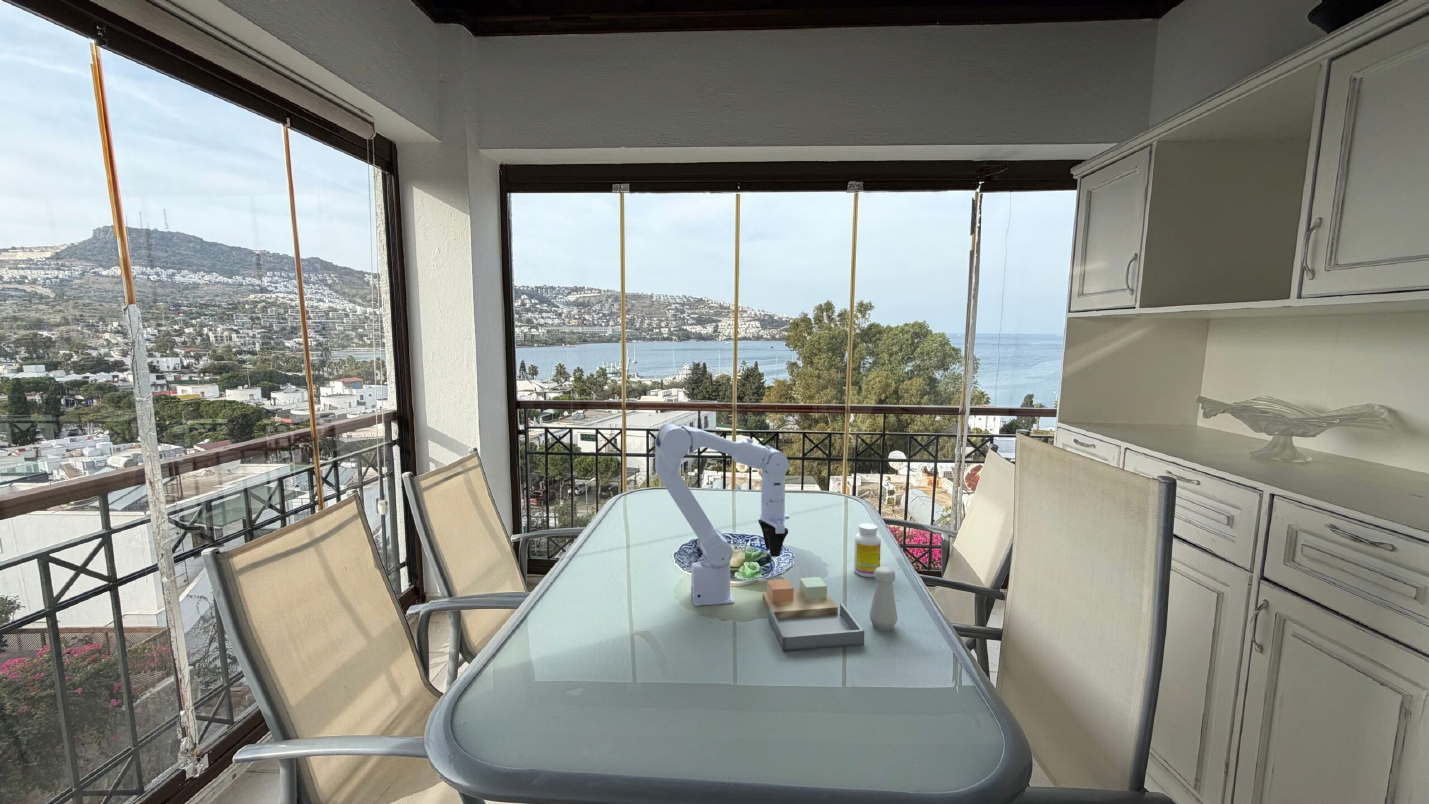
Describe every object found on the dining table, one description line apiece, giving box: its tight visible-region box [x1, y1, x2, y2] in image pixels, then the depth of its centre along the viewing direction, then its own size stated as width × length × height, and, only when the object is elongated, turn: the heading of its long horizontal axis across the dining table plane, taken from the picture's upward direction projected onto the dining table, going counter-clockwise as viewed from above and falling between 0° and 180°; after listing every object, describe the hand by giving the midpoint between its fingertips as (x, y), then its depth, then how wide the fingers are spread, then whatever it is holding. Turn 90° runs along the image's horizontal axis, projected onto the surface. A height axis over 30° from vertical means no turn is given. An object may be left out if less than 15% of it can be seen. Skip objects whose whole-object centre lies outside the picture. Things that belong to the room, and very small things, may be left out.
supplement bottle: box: [853, 523, 882, 578], centre depth 147 cm, size 7×7×13 cm
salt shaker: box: [869, 566, 898, 632], centre depth 120 cm, size 6×6×13 cm
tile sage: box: [799, 576, 828, 600], centre depth 131 cm, size 5×5×3 cm
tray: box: [768, 602, 865, 653], centre depth 118 cm, size 17×12×3 cm
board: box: [762, 588, 839, 619], centre depth 129 cm, size 15×10×2 cm, turn 98°
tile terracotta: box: [766, 578, 795, 602], centre depth 130 cm, size 5×5×3 cm
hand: (772, 552), depth 137 cm, fingers open, 4 cm apart
